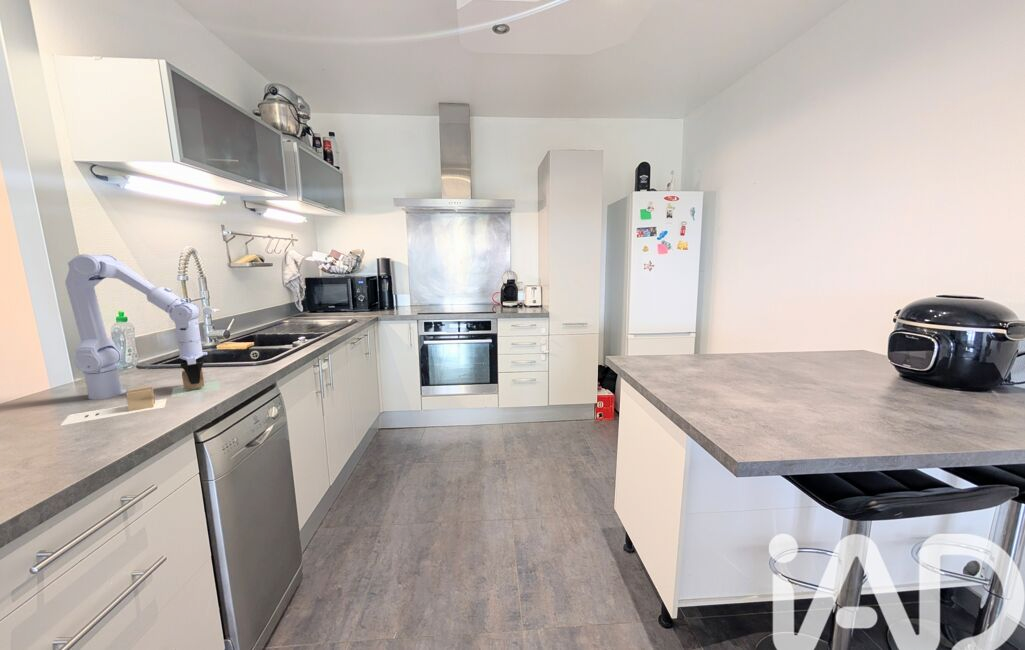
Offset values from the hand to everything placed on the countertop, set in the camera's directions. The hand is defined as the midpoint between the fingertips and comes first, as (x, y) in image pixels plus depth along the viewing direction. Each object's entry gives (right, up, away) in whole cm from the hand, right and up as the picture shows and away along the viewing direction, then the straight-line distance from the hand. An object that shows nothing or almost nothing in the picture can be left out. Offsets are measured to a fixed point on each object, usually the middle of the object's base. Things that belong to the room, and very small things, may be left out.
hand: (195, 381), depth 127 cm
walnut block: (0, -1, 0) cm, 1 cm away
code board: (-7, -6, -18) cm, 20 cm away
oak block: (-3, -5, -15) cm, 16 cm away
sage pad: (0, -3, +1) cm, 3 cm away
